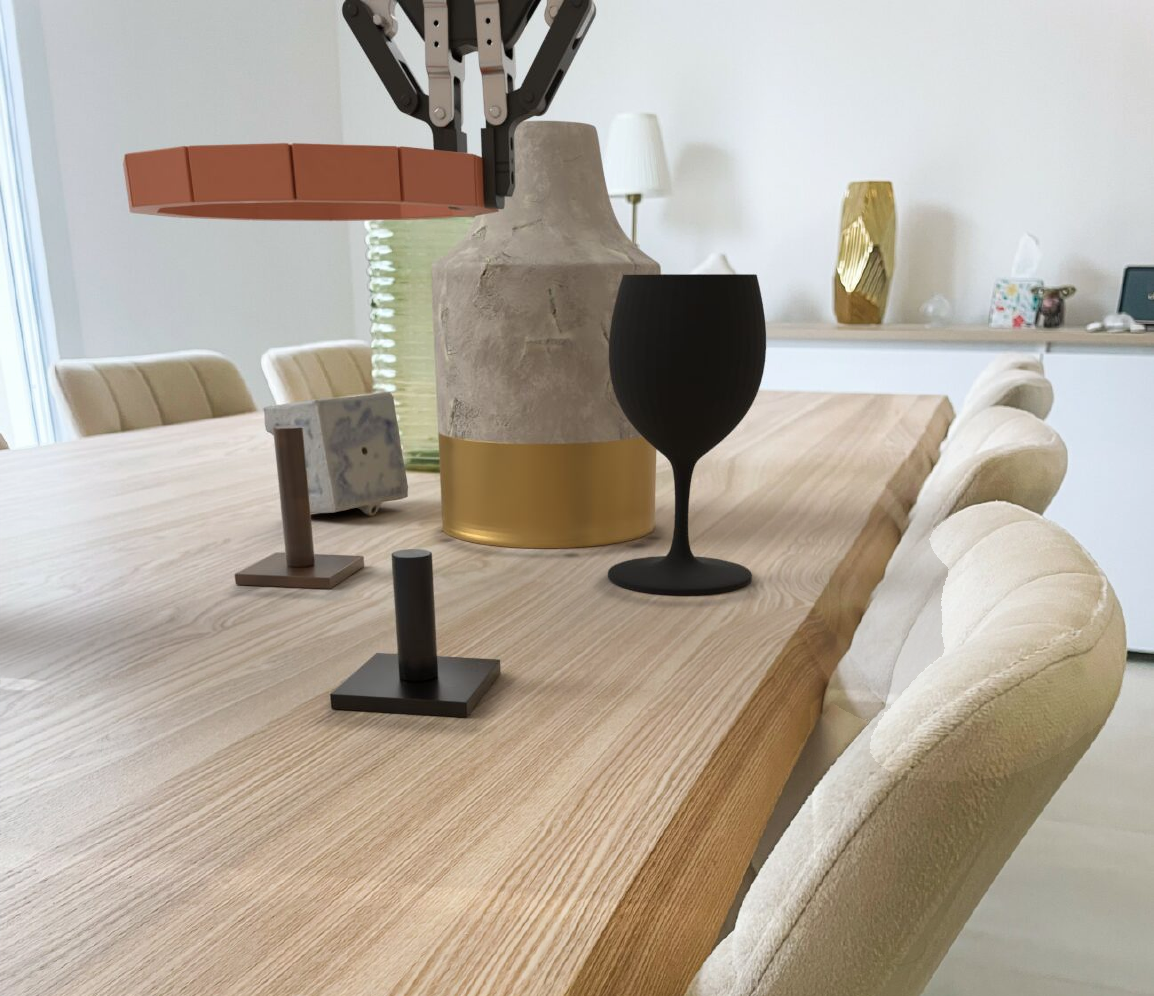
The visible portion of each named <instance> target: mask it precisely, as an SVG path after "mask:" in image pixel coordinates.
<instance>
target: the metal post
mask: <svg viewBox="0 0 1154 996" xmlns="http://www.w3.org/2000/svg"><path fill="white" fill-rule="evenodd" d="M433 565H434V564H433V553H432V551H430V550H428V549H421V548H409V549H408V548H406V549H399V550H396V551H394V552H392V553H391V569H392V571H391V572H392V585H393V601H394V616H395V617H394V618H395V631H396V647H397V653H387V652H386V653H385V652H376V653H375V654H374V655H372V657H370V658H369V659H368V660H367V661H366V662H364V664H363V665H361V666H360V667H359V668H358V669H357V670H356V671H354V672H353V673H352V674H351V675H350V676H349V677H348V678H347V679H345V680H344V681H343V682H342V683H341V684H340V685H338V686H337V687H336V688H335V689H334V690H333V691H332V692H331V693H330V694H329V699H330V700H329V701H330V708H331V709H332V710H341V711H357V712H358V711H359V712H360V711H361V712H374V713H375V712H378V713H391V714H405V715H406V714H407V715H410V714H411V715H422V716H423V715H424V716H439V717H440V716H441V717H453V718H454V717H456V718H468V717H469V715H470V714H471V713H472V712H473V710H474V709H475V707H476V706H477V705H478V703H479V702H480V701H481V699H482V698H483V697H484V696H485V695H486V693H487V691H488V690H489V689H490V688H491V686H492V685H493V684H494V682H495V681H496V680H497V678H498V677H499V676H500V675H501V659H498V658H483V657H482V658H478V657H462V656H461V657H459V656H443V655H438V646H437V627H436V606H435V588H434V587H435V586H434V585H435V584H434V568H433V567H434V566H433Z"/></svg>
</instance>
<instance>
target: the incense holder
mask: <svg viewBox="0 0 1154 996" xmlns="http://www.w3.org/2000/svg"><path fill="white" fill-rule="evenodd" d="M395 405H396V404H395V398H394V396H393V394H392V393H391V391H384V392H383V391H382V392H374V393H369V394H368V393H367V394H361V395H355V396H344V397H331V398H315V399H309V400H303V401H301V400H300V401H295V402H294V401H291V402H288V403H281V404H275V405H268V406H265V407H263V409H262V410H263V413H264V415H263V416H264V427H265V428H264V429H265V431H266V432H267V433H269V434H270V435H272V437H274V433H273V427H275V426H281V425H299V426H302V427H303V436H304V447H305V458H306V469H307V480H308V491H309V502H310V513H311V514H330V513H333V514H334V513H337V512H343V511H347V510H351V509H356V508H357V509H359V510H360V511H362V513H364V514H365V515H367V516H370V517H372V516H375V515H376V514H377V512H378V510H379V508H380V507H381V504H382V503H385V502H392V501H399V500H404V499H406V498H408V497H409V484H408V477H407V471H406V466H405V460H404V456H403V449H402V443H401V436H400V435H401V434H400V428H399V424H398V418H397V413H396V406H395Z"/></svg>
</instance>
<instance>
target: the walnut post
mask: <svg viewBox="0 0 1154 996" xmlns="http://www.w3.org/2000/svg"><path fill="white" fill-rule="evenodd" d="M273 433H274V436H273V441H274V443H273V444H274V452H275V462H276V471H277V472H276V473H277V482H278V492H279V502H280V511H281V522H282V523H281V524H282V533H283V541H284V551H285V552H273V553H272V554H270V555H268V556H266V557H264V558H263V559H260V560H258V561H257V562H254V563H253V564H251V565H248V566H247V567H245V568H243V569H241V570H239V571H237V572H235V573H234V582H235V585H237V586H255V587H275V588H276V587H278V588H300V589H321V590H323V589H324V590H331V589H332V588H333V587H335V586H336V585H338V584H340V583H341V582H342V581H344V580H346V579H347V578H349V577H350V576H352V575H353V574H354V573H356V572H358V571H360V570H361V569H362V568H364V567H365V558H364V555H351V554H350V555H349V554H347V555H346V554H326V553H325V554H324V553H322V554H321V553H315V545H314V535H313V527H312V526H313V525H312V513H310V502H309V491H308V480H307V469H306V458H305V447H304V436H303V427H302V426H299V425H281V426H275V427H273Z"/></svg>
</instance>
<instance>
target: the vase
mask: <svg viewBox="0 0 1154 996" xmlns="http://www.w3.org/2000/svg"><path fill="white" fill-rule="evenodd" d="M514 150H515V189H514V192H513V196H512V197H505V206H504V209H499V211H498V212H494V213H489V214H483V215H478V216H474V218H473V221H472V223H471V224H470V226H469V228H468V230H467V231H466V233H465V234H464V236H463V237H462V238H461V239H460V240H459V241H458V242H457V243H456V245H454V246H453V247H452V248H451V249H450V250H449V251H447V252H446V253H445V254H444V255H442V256H441V257H440V258H438V259H437V260H435V261H434V262H433V263H432V264H431V266H430V287H431V288H430V289H431V309H432V330H433V331H432V332H433V350H434V351H433V352H434V373H435V394H436V412H437V413H436V415H437V416H436V417H437V418H436V419H437V435H438V436H437V437H438V439H437V440H438V457H439V458H438V460H439V461H438V462H439V481H440V499H441V500H440V502H441V524H442V526H441V527H442V531H443V532H444V533H445V534H446V535H448V536H450V537H452V538H455V539H458V540H461V541H465V542H469V543H474V544H480V545H486V546H494V547H503V548H504V547H505V548H521V549H572V548H587V547H598V546H606V545H612V544H613V545H614V544H618V543H623V542H624V543H625V542H628V541H629V542H630V541H632V540H636V539H640V538H642V537H644V536H647V535H649V534H651V533H652V532H653V531H654V530H655V526H656V525H655V524H656V523H655V522H656V521H655V520H656V484H657V483H656V482H657V449H656V448H655V447H653V446H652V445H651V444H650V443H649V442H648V441H647V440H646V439H645V438H644V437H643V436H642V435H641V434H640V433H639V432H638V431H637V430H636V429H635V428H634V427H633V425H632V424H631V423H630V421H629V420H628V419H627V417H626V416H625V414H624V413H623V411H622V409H621V407H620V405H619V403H618V400H617V398H616V395H615V392H614V389H613V385H612V381H611V375H610V368H609V337H610V328H611V321H612V316H613V311H614V306H615V302H616V298H617V294H618V290H619V286H620V283H621V280H622V277H623V275H653V274H662V269H661V264H660V263H659V262H657V261H656V260H655V259H653V257H651V256H649V255H648V254H647V253H646V252H644V251H643V250H642V249H640V247H638V246H637V245H636V244H635V243H634V242H633V241H632V240H631V239H630V237H629V236H628V235H627V234H626V232H624V231H625V230H624V229H623V228H622V227H621V224H620V223H619V221H618V219H617V216H616V215H615V211H614V209H613V205H612V202H611V198H610V195H609V192H608V191H609V190H608V187H607V182H606V177H605V172H604V166H603V160H602V153H601V146H600V140H599V135H598V130H597V127H596V126H595V125H593V124H590V123H586V122H579V121H577V122H576V121H568V120H567V121H566V120H525V121H523V122H521V123H520V124H519V125H518V126H517V128H516V130H515V134H514Z"/></svg>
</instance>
